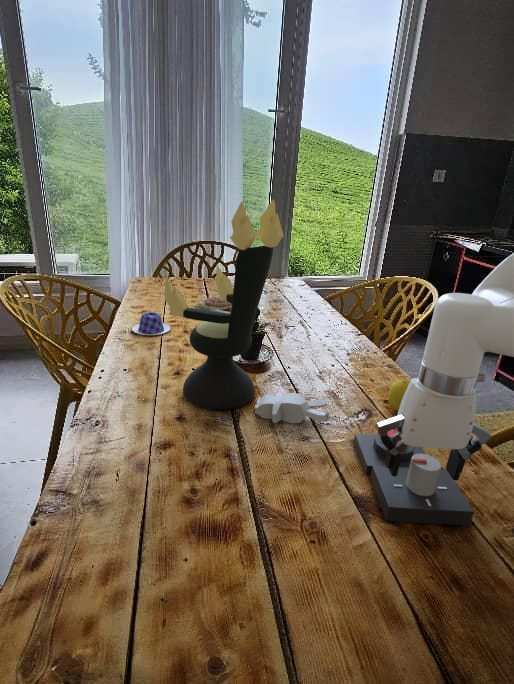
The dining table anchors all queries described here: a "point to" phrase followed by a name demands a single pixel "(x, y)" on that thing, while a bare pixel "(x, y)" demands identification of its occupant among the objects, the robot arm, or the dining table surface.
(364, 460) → the switch block
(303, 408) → the bunny figurine
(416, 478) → the dial
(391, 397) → the lemon
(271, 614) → the dining table surface
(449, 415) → the robot arm
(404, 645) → the dining table surface
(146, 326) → the pudding
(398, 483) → the knob control plate
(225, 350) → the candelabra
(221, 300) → the decorative turtle
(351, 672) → the dining table surface
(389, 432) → the power button
